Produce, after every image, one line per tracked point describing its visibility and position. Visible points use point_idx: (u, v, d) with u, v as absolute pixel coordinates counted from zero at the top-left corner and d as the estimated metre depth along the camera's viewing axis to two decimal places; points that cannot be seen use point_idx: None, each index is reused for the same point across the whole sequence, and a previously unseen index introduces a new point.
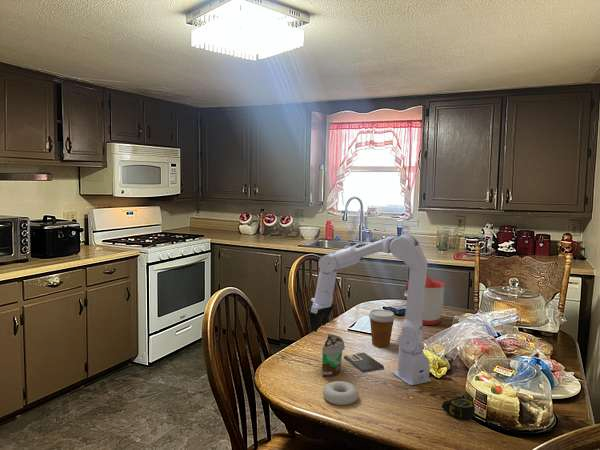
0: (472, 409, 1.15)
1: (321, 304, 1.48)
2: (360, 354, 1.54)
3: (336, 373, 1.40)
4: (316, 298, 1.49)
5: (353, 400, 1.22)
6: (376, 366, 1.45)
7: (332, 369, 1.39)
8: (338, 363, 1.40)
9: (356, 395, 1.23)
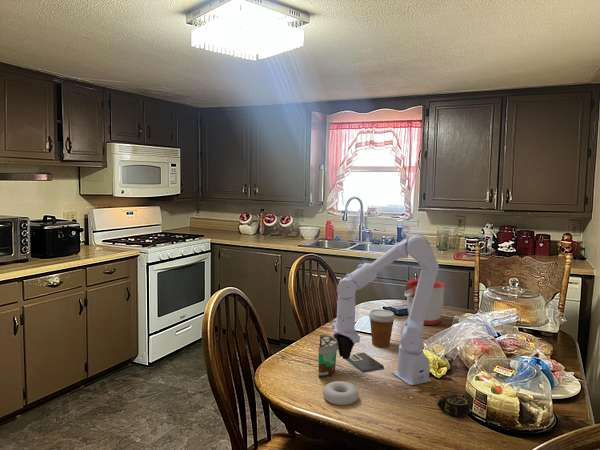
0: (467, 406, 1.16)
1: (352, 331, 1.41)
2: (360, 354, 1.54)
3: (332, 373, 1.40)
4: (344, 328, 1.40)
5: (353, 400, 1.22)
6: (376, 366, 1.45)
7: (328, 370, 1.38)
8: (333, 363, 1.40)
9: (356, 395, 1.23)
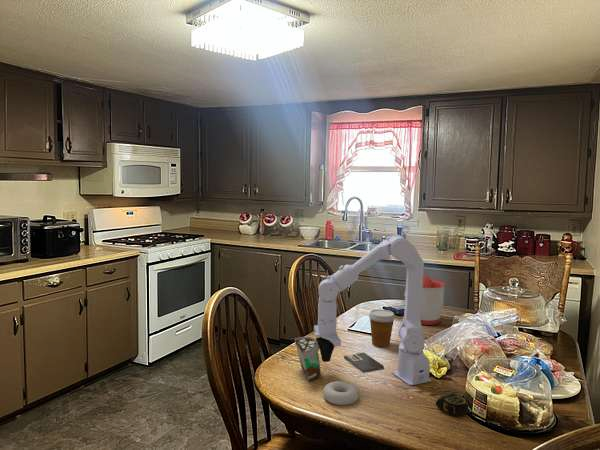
0: (465, 406, 1.16)
1: (333, 335, 1.38)
2: (360, 354, 1.54)
3: (319, 372, 1.38)
4: (325, 331, 1.37)
5: (353, 400, 1.22)
6: (376, 366, 1.45)
7: (316, 370, 1.36)
8: (318, 362, 1.38)
9: (356, 395, 1.23)
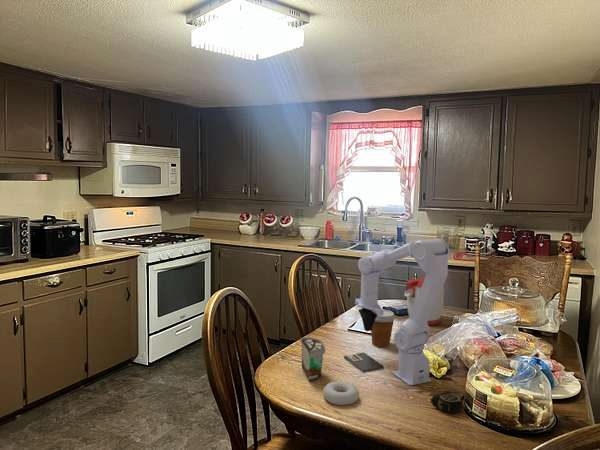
0: (459, 403, 1.18)
1: (375, 306, 1.50)
2: (360, 354, 1.54)
3: (320, 375, 1.38)
4: (368, 302, 1.50)
5: (353, 400, 1.22)
6: (376, 366, 1.45)
7: (317, 372, 1.36)
8: (321, 365, 1.38)
9: (356, 395, 1.23)
